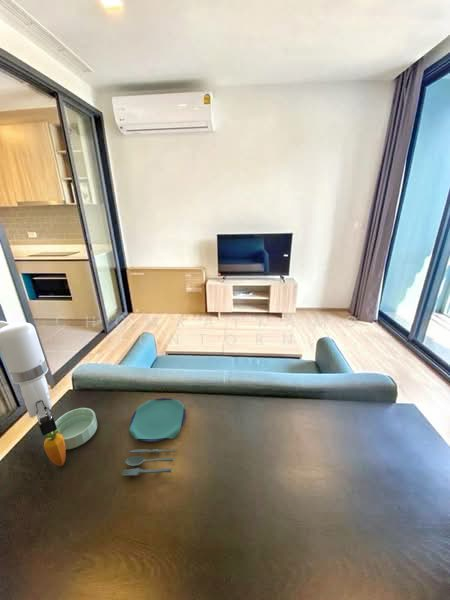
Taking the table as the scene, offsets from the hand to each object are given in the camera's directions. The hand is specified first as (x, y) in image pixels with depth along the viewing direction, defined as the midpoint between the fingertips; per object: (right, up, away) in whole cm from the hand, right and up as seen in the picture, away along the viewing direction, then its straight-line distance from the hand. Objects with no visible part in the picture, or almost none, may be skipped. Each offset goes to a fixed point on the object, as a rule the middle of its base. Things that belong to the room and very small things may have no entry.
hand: (47, 420), depth 70 cm
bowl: (-2, -13, +17) cm, 21 cm away
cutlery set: (+26, -13, +17) cm, 33 cm away
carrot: (0, -17, +6) cm, 18 cm away
